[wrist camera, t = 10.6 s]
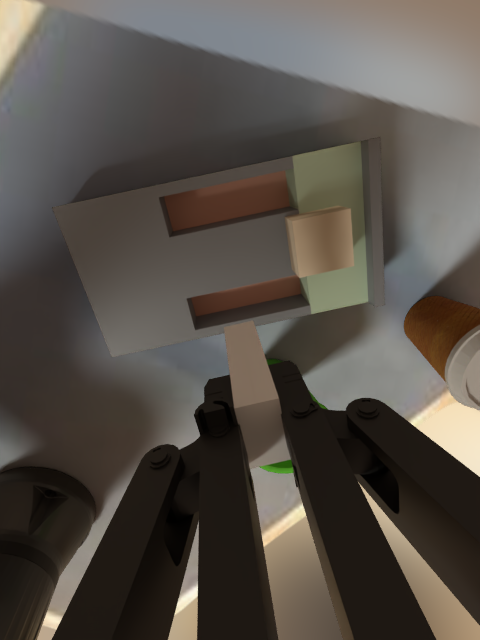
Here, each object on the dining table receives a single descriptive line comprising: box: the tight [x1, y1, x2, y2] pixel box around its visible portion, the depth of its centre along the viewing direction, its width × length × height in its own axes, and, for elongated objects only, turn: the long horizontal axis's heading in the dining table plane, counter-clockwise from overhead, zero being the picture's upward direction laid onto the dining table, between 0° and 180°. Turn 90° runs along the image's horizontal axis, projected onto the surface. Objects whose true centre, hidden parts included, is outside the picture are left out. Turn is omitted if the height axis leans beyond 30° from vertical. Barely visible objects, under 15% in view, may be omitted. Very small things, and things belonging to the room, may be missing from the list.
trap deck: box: [52, 137, 385, 357], centre depth 34 cm, size 28×15×6 cm, turn 101°
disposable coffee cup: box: [404, 296, 480, 410], centre depth 36 cm, size 10×10×12 cm
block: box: [285, 206, 354, 278], centre depth 31 cm, size 5×5×3 cm
